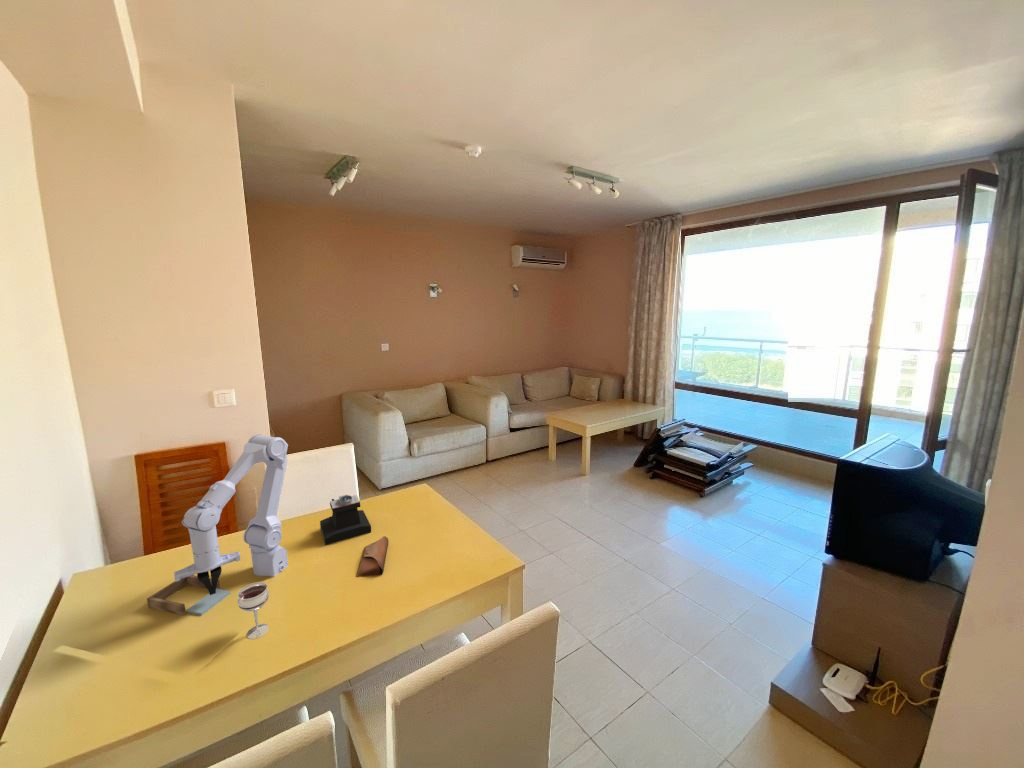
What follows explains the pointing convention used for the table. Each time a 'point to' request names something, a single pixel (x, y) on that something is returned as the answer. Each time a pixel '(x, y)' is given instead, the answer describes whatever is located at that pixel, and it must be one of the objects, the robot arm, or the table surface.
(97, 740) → the table surface
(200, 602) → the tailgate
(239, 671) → the table surface
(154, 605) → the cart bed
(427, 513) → the table surface
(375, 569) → the sunglasses case
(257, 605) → the wineglass
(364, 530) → the camera
